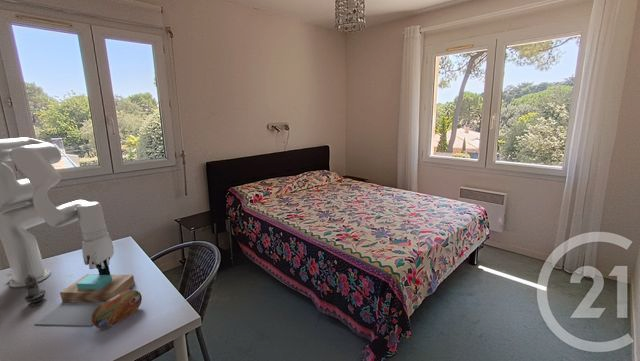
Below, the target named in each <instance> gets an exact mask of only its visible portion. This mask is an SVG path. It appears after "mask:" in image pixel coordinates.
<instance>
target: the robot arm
mask: <svg viewBox="0 0 640 361" xmlns="http://www.w3.org/2000/svg"><path fill="white" fill-rule="evenodd" d="M61 159H62V153H61V151H60V149H59V148H58V147H57V146H55V145H54V144H52V143H51V142H47V141H43V140H39V139H36V138H30V137H14V138H0V208H7V207H12V206H15V207H13V208H9V209H6V210H3V211H1V212H0V241H1V243H2V246H3V249H4V251H5V254H6V255H5V256H6V258H7V261H8V262H7V263H8V265H9V268H10V272H8V273H7V275H6V276H7V277H11V278H12V279H11V280H10V281H9V286H10V287H11V288H22V287H26V283H25V279H26V278H27V277H28V275H30V276H35V278H36V281H37V283H40V282H42V281H44V280H46V279H47V278H48V277H50V276H51V275H52V270H50V269H49V268H45V265H44V261H43V258H42V254H41V252H40V248H39V244H38V240H37V238H36V237H35V235H34V234H32V233H30V232H29V231H28V229H29V228H32V227H35V226H38V225H41V224H44V223H47V224H48V225H49V226H52V227H54V228H60V227H63V226H67V225H70V224H73V223H75V222H76V221H78V222H79V227H80V230H81V235H82V238H83V241H82V242H81V250H82V251H81V252H82V258H83V263H84V265H85V266H88V268H89V270H95V269H97V271H98V274H99V275H111V271H110V267H109V265H110V259H112V258H113V257H114V253H115V248H114V244H113V241H112V238H111V235H110V234H109V232H108V227H107V224H106V221H105V215H104V211H103V206H102V204H101V203H100V202H99V201H88V200H85V199H76V200H73V201H69V202H65V203H63V204H60V205H57V206H56V205H55V204H54V203H52V201H50V199H49V197H48V191H49V190H50V189H51V188H54V187H55V186H56V185H57V184H58V183H60V181H61V180H62V175H61V174H60V173H59V171H58V170H57V169H56V168H55V167H54V166H53V165H54V164H57V163H59V162H60V161H61ZM5 162H12V163H13V164H14V165H15V166H16V167H17V168H18V170H19V171H20V172H21V173H22V174H23V176H24V177H25V178H20V179H17V177H16V174H15V171H14V169H13V168H12V167H10V166H9V165H8V164H7V163H5ZM23 203H26V204H24V205H20V204H23ZM16 205H20V206H17V207H16Z"/></svg>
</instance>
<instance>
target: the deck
mask: <svg viewBox="0 0 640 361" xmlns="http://www.w3.org/2000/svg"><path fill="white" fill-rule="evenodd" d="M89 275H99V273H98V274H93V273H92V274H85V275H84V276H82V277H81V278H79V279H78V280H76V281H74V282H72V283H71V284H70V285H68V286H67V287H66V288H63V290H61V291H60V292H59V294H60V298H61V302H62V303H104V302H105V301H107V300H109V299H111V298H113V297H114V296H116V295H118V294H120V293H121V292H123V291H125V290H130V288H132V287H133V286H134V285H135V284H136V282H135V279H134V278H135V277H134V274H110V275H111V277H112V281H111V282H110V283H108V284H107V285H106V286H104V287H103V288H102V289H100V290H91V289H78V288H77V284H76V283H78V282H79V281H81V280H82V279H84V278H86V277H87V276H89Z"/></svg>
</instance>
